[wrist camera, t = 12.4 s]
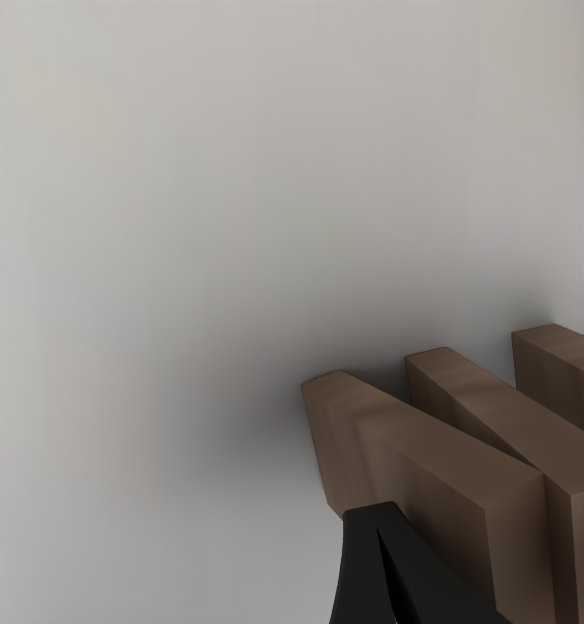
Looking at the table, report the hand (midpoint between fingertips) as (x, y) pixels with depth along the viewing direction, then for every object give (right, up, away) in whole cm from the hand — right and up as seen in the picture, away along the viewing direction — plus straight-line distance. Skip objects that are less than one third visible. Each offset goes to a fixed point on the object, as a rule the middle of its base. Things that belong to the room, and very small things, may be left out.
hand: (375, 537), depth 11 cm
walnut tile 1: (-1, +1, +5) cm, 5 cm away
